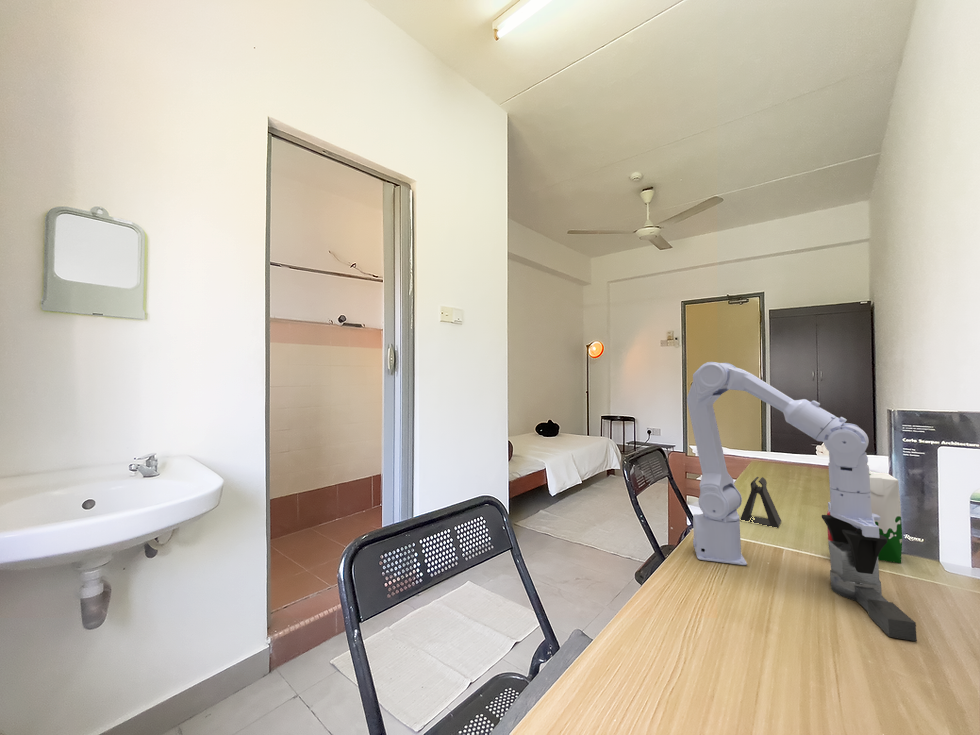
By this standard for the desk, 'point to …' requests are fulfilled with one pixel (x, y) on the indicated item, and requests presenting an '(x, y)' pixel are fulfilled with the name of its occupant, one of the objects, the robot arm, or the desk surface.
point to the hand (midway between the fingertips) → (853, 563)
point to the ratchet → (876, 607)
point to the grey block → (849, 565)
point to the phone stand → (767, 502)
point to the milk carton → (887, 514)
